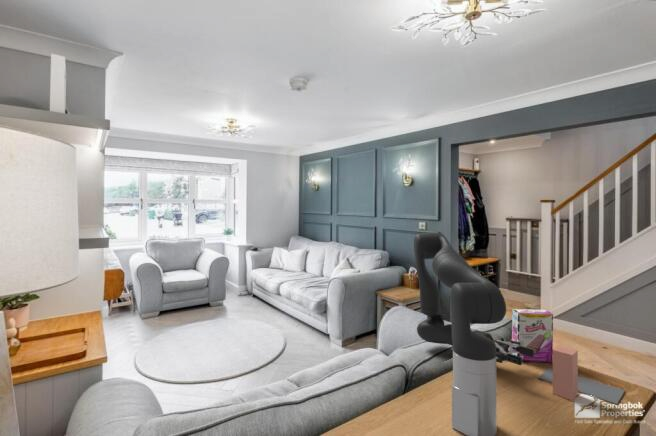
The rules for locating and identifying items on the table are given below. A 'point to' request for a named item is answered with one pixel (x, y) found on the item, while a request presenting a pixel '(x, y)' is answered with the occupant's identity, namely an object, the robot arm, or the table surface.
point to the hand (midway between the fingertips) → (528, 357)
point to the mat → (591, 387)
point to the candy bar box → (533, 333)
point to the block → (565, 372)
